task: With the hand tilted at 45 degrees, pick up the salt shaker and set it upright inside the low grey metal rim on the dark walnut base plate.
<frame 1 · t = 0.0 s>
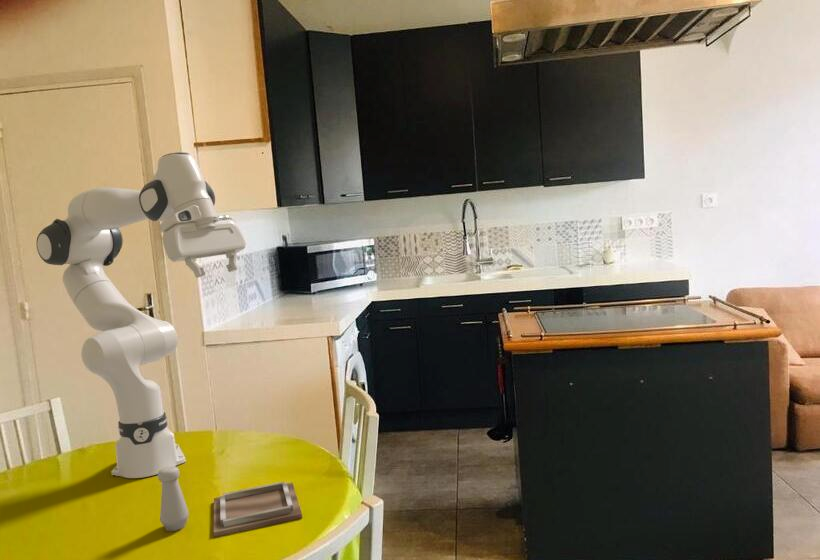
hand: (217, 273, 154), 52 cm above the table, tool tilted 20°, fingers open, 8 cm apart
socket plate: (256, 509, 149), on the table
salt shaker: (176, 527, 144), on the table
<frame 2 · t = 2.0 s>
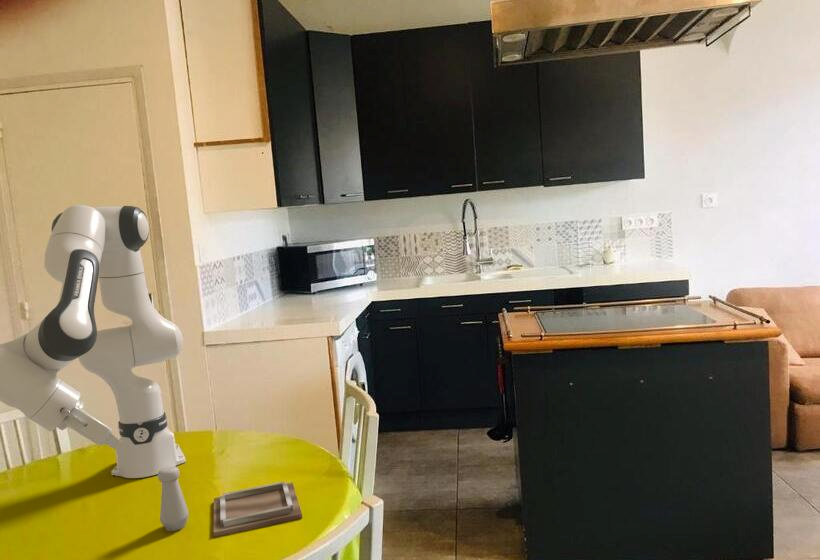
hand: (117, 444, 137), 21 cm above the table, tool tilted 45°, fingers open, 8 cm apart
nothing on the table moved.
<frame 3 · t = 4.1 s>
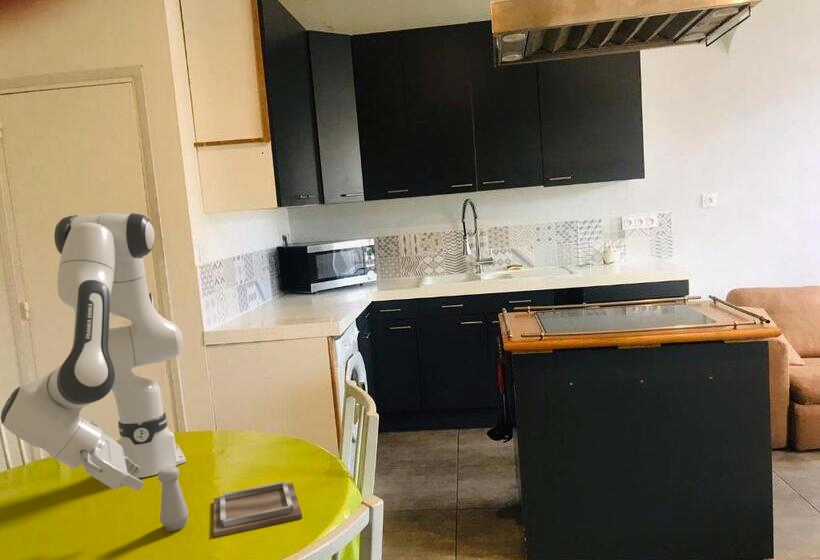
hand: (139, 479, 140), 12 cm above the table, tool tilted 45°, fingers open, 8 cm apart
nothing on the table moved.
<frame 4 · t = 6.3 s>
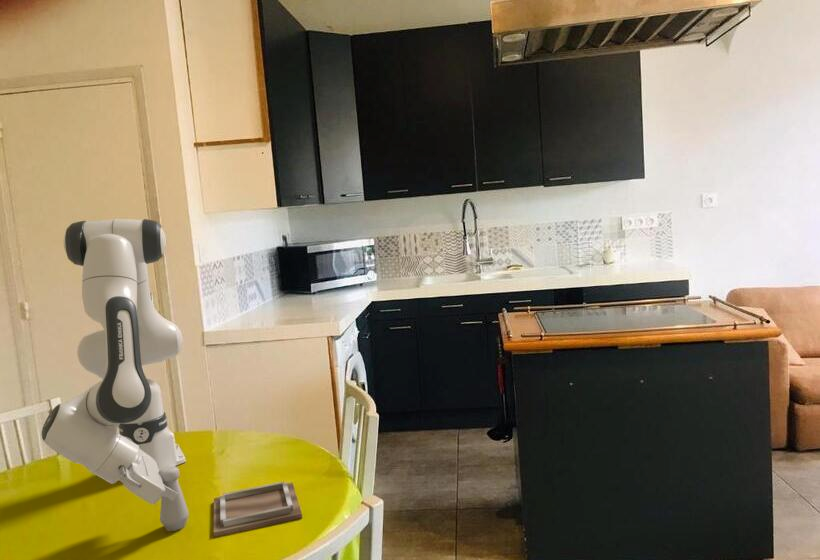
hand: (174, 493, 144), 7 cm above the table, tool tilted 45°, fingers closed on salt shaker, 3 cm apart
salt shaker: (176, 527, 144), on the table, touching gripper
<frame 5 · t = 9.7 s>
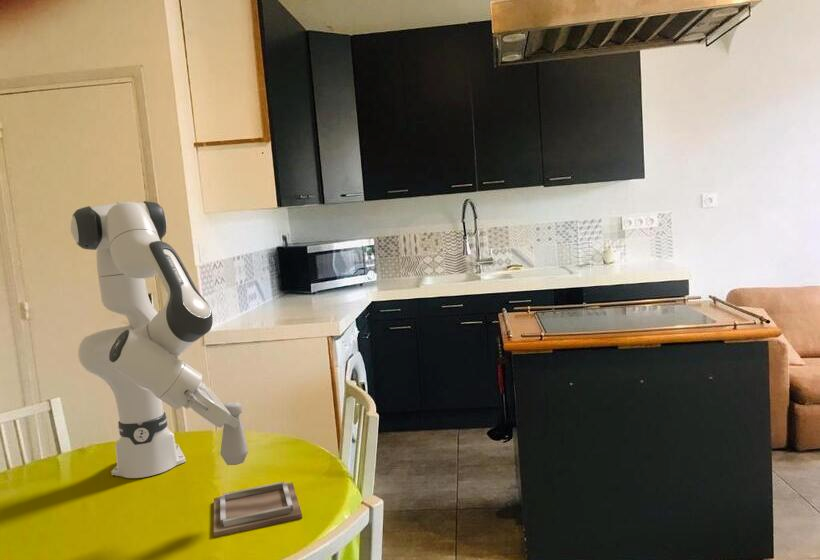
hand: (235, 422, 146), 20 cm above the table, tool tilted 45°, fingers closed on salt shaker, 3 cm apart
salt shaker: (235, 462, 146), point 12 cm above the table, touching gripper
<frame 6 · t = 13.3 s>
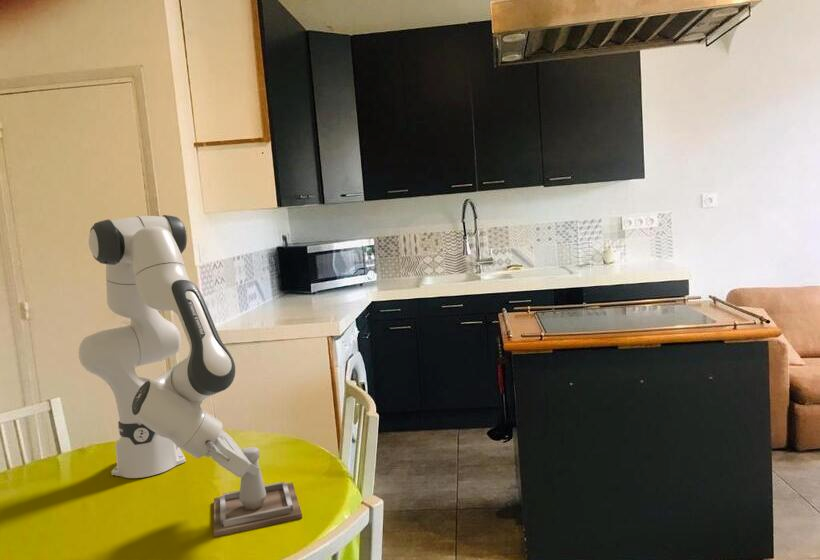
hand: (254, 468, 148), 9 cm above the table, tool tilted 45°, fingers closed on salt shaker, 3 cm apart
salt shaker: (253, 506, 148), point 1 cm above the table, touching gripper, socket plate
when the fingers open (9 cm above the table, at t = 13.6 s): salt shaker stays where it is, resting on socket plate.
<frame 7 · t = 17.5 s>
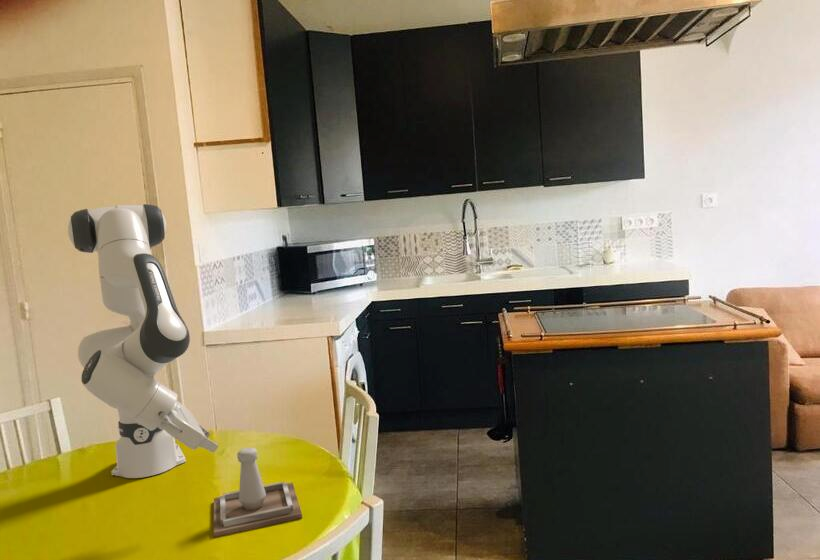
hand: (211, 442, 144), 17 cm above the table, tool tilted 45°, fingers open, 8 cm apart
salt shaker: (253, 507, 148), point 1 cm above the table, touching socket plate
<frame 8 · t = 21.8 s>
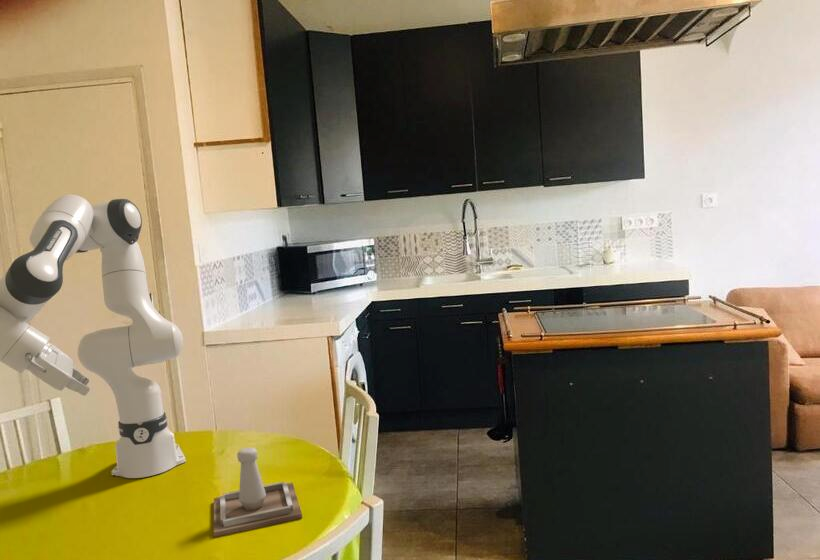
hand: (87, 387, 144), 31 cm above the table, tool tilted 45°, fingers open, 8 cm apart
nothing on the table moved.
at the end: salt shaker inside the target area on the socket plate (0.5 cm from its centre), point 0.8 cm above the socket plate's base; salt shaker tilted 0°; the gripper is holding nothing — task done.
